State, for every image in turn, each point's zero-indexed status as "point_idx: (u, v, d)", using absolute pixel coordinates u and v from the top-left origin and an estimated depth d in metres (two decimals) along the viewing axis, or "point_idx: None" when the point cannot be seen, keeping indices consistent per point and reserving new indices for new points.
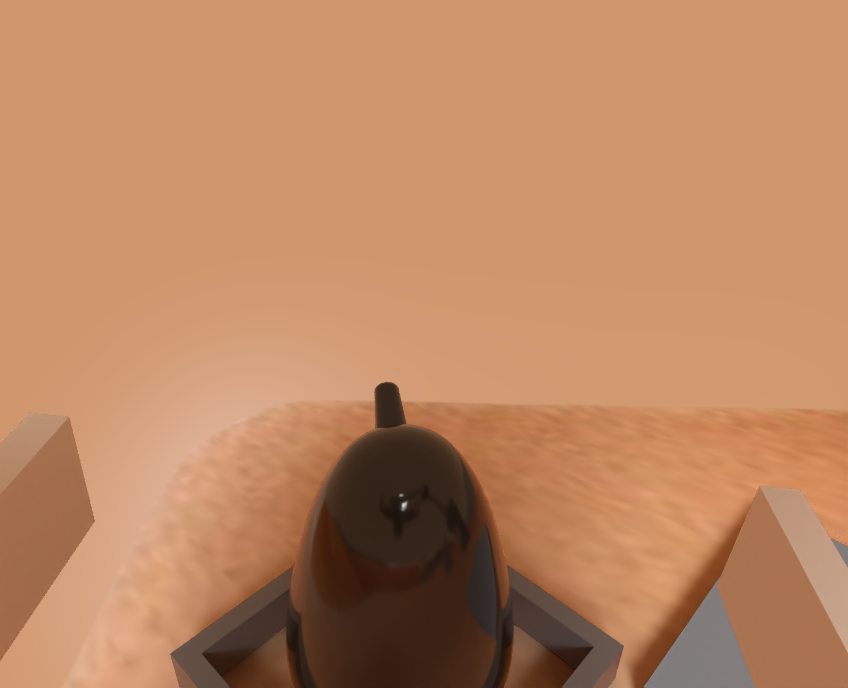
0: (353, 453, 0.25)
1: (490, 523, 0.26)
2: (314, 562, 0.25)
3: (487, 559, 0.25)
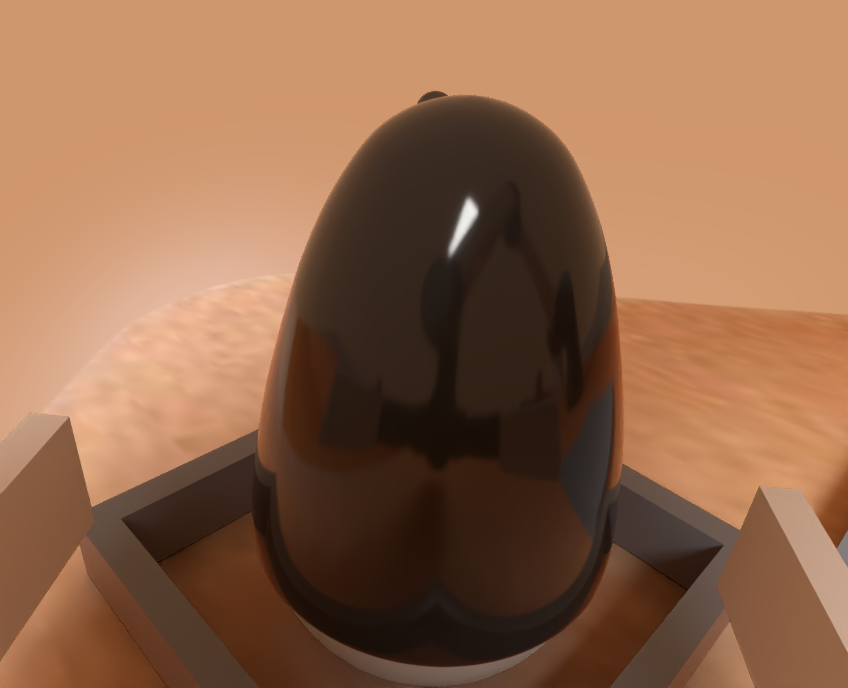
0: (388, 121, 0.14)
1: (612, 279, 0.15)
2: (308, 313, 0.14)
3: (610, 329, 0.15)
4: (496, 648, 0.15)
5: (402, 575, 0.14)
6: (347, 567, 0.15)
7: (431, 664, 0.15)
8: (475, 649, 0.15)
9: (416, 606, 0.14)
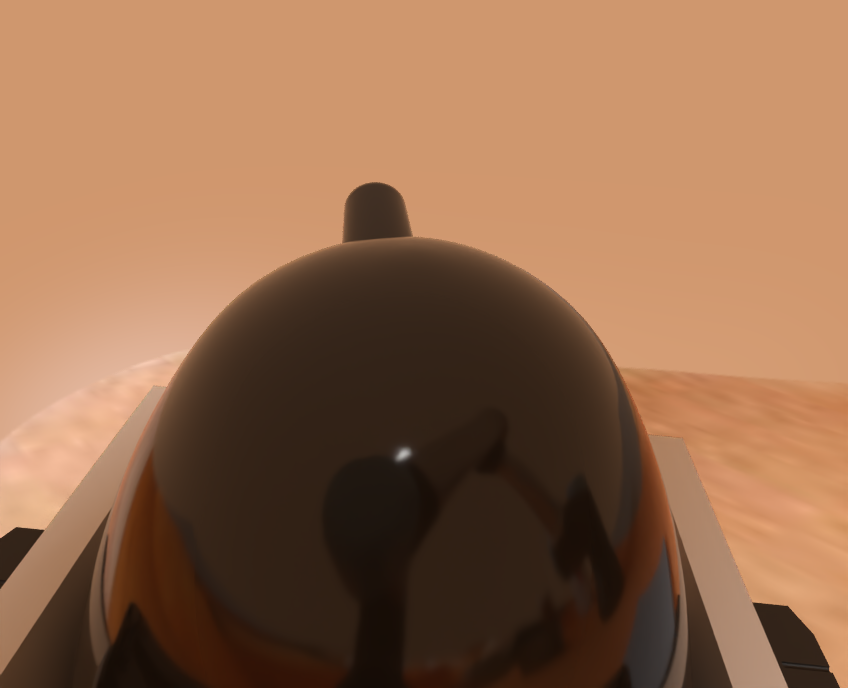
0: (245, 298, 0.07)
1: (681, 566, 0.08)
2: (88, 678, 0.07)
3: None
4: None
5: None
6: None
7: None
8: None
9: None
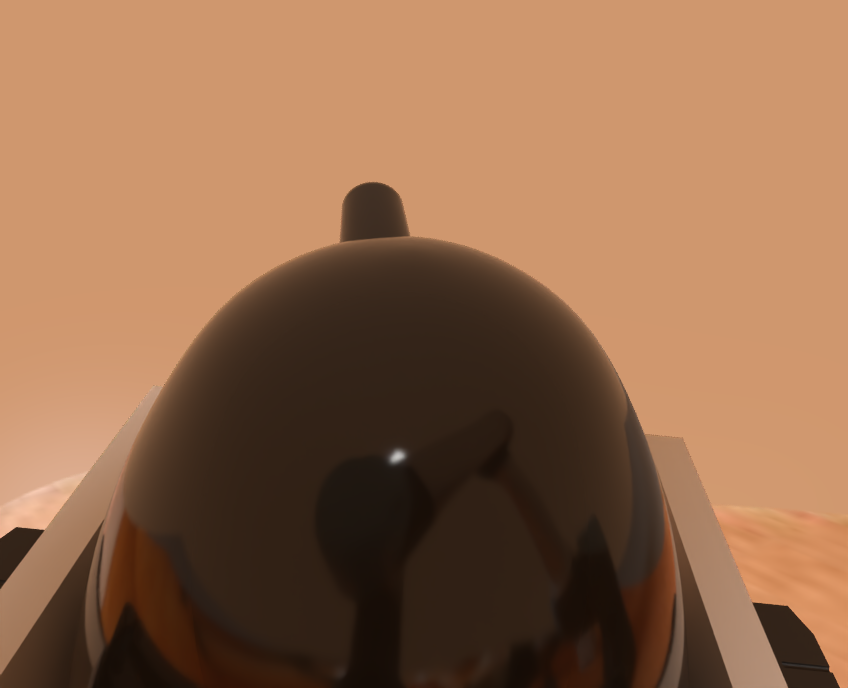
0: (241, 298, 0.07)
1: (678, 566, 0.08)
2: (83, 679, 0.07)
3: None
4: None
5: None
6: None
7: None
8: None
9: None
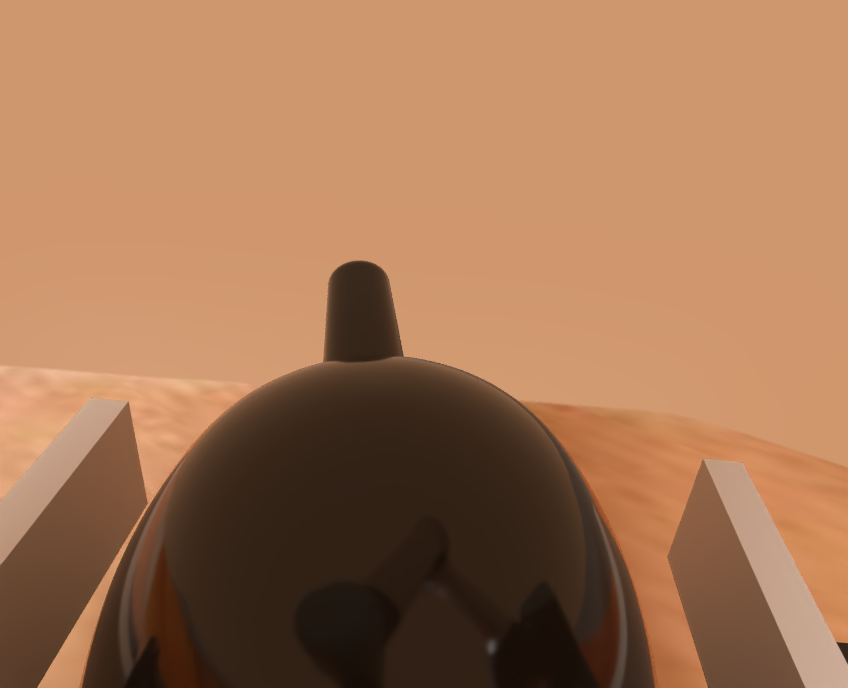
0: (219, 439, 0.07)
1: (654, 674, 0.08)
2: None
3: None
4: None
5: None
6: None
7: None
8: None
9: None
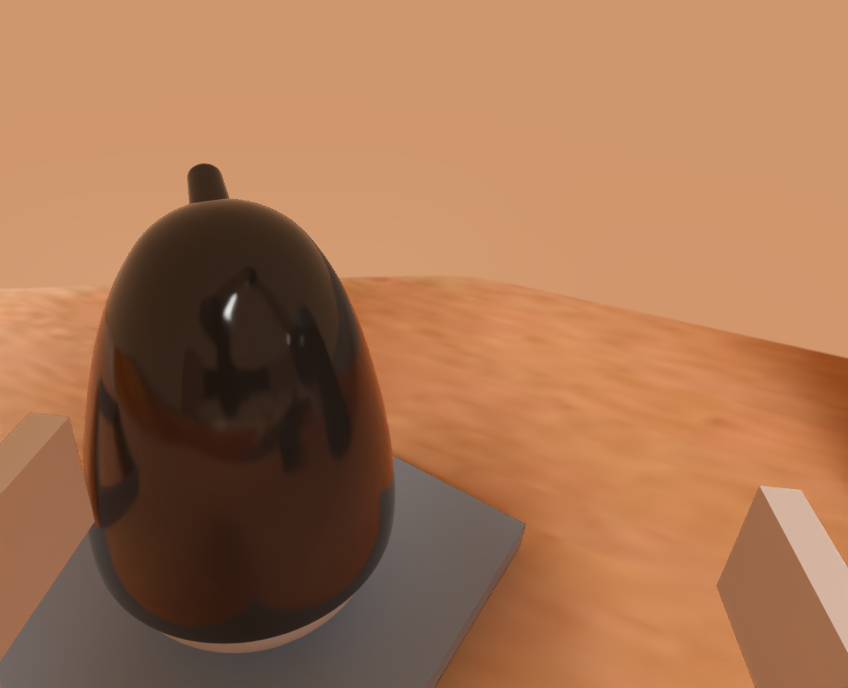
0: (150, 232, 0.17)
1: (358, 330, 0.19)
2: (106, 397, 0.17)
3: (356, 374, 0.19)
4: (301, 618, 0.20)
5: (215, 585, 0.18)
6: (171, 585, 0.18)
7: (252, 640, 0.20)
8: (284, 623, 0.20)
9: (231, 603, 0.19)
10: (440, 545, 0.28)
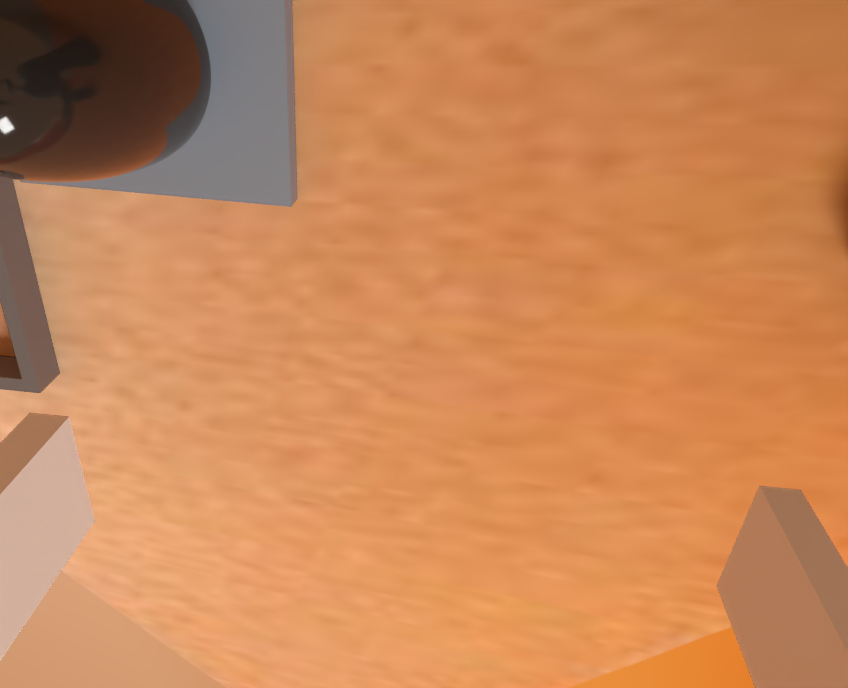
0: None
1: (71, 36, 0.24)
2: None
3: (104, 65, 0.25)
4: (198, 123, 0.33)
5: (149, 163, 0.32)
6: None
7: (185, 143, 0.34)
8: (193, 132, 0.33)
9: (163, 157, 0.32)
10: None
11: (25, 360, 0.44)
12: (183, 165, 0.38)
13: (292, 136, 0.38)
